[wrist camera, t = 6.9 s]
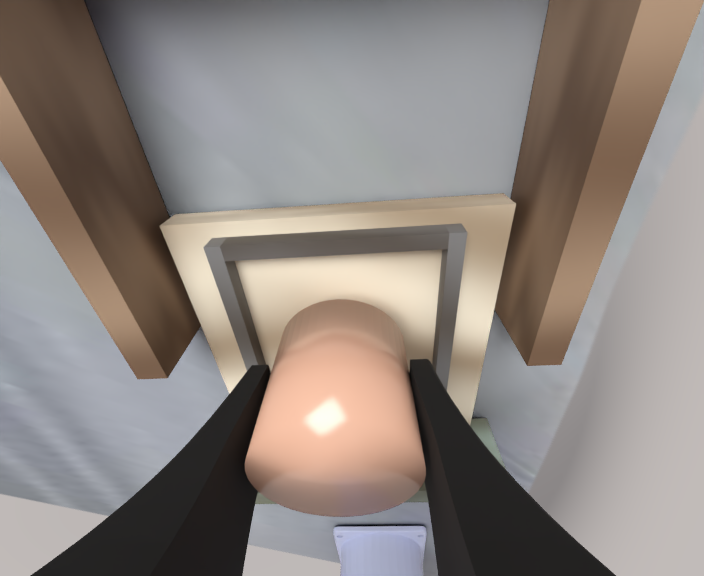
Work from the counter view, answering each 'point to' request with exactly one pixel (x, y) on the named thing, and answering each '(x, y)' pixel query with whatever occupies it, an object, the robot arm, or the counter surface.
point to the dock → (150, 212)
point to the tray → (351, 279)
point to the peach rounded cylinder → (338, 415)
